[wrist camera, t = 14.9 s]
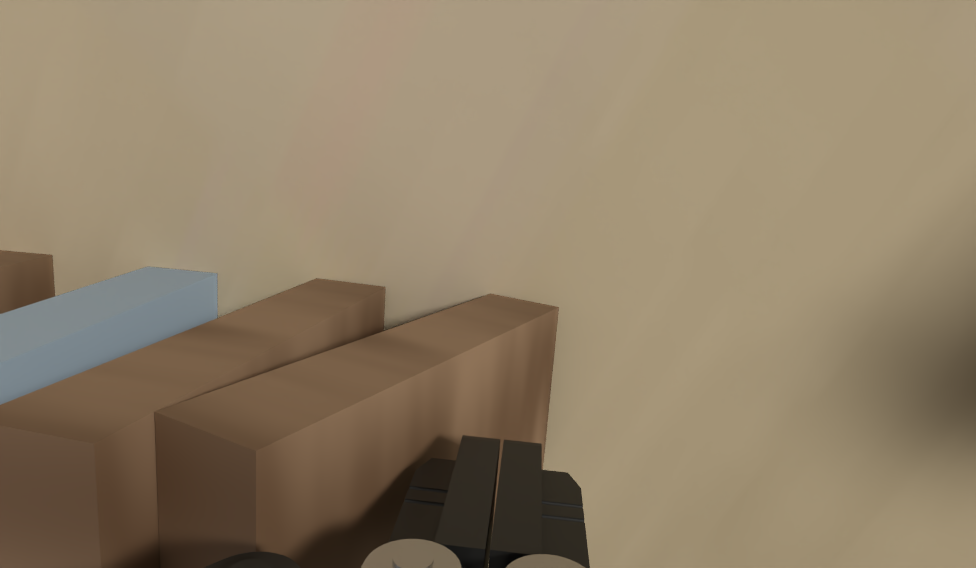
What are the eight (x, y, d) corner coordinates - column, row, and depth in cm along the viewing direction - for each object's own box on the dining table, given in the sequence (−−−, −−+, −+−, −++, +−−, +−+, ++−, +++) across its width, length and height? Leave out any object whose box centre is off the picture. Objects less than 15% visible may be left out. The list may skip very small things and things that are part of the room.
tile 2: (378, 458, 19) (112, 767, 10) (313, 446, 20) (-3, 732, 10) (385, 286, 18) (93, 443, 9) (316, 278, 18) (-35, 418, 9)
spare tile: (217, 439, 20) (-98, 732, 10) (152, 432, 20) (-224, 713, 10) (216, 273, 19) (-137, 419, 9) (147, 266, 19) (-277, 403, 9)
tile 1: (541, 484, 18) (255, 769, 10) (477, 463, 19) (165, 707, 11) (558, 307, 17) (256, 450, 9) (490, 293, 18) (154, 411, 10)
